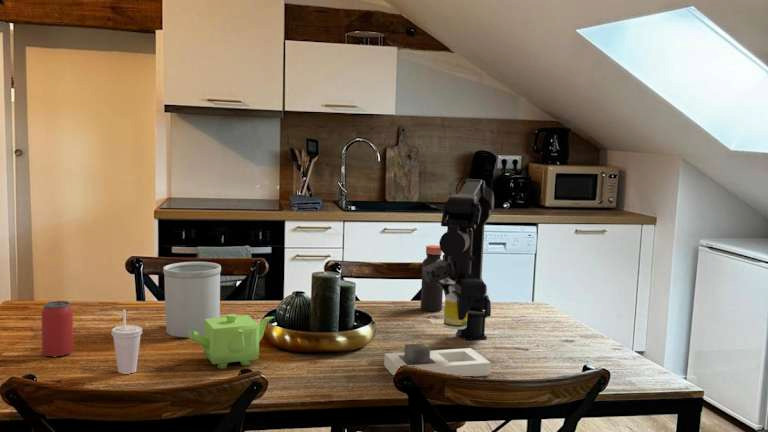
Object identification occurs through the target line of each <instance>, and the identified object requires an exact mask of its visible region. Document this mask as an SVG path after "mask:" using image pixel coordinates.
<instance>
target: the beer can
mask: <svg viewBox="0 0 768 432" xmlns="http://www.w3.org/2000/svg"><path fill="white" fill-rule="evenodd" d="M73 316H74V315H73V308H72V307H71V303H70V302H69V301H64V300H55V301H49V302H46V303H44V304H43V308H42V310H41V353H42V355H43V356H45V355H46V356H45V357H47V356H62V357H65V356H64V355H66V356H68V355H67V354H69V355H70V354H72V353H73V351H74V333H73V332H74V326H73V325H74V322H73V320H74V319H73ZM71 352H72V353H71Z"/></svg>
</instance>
